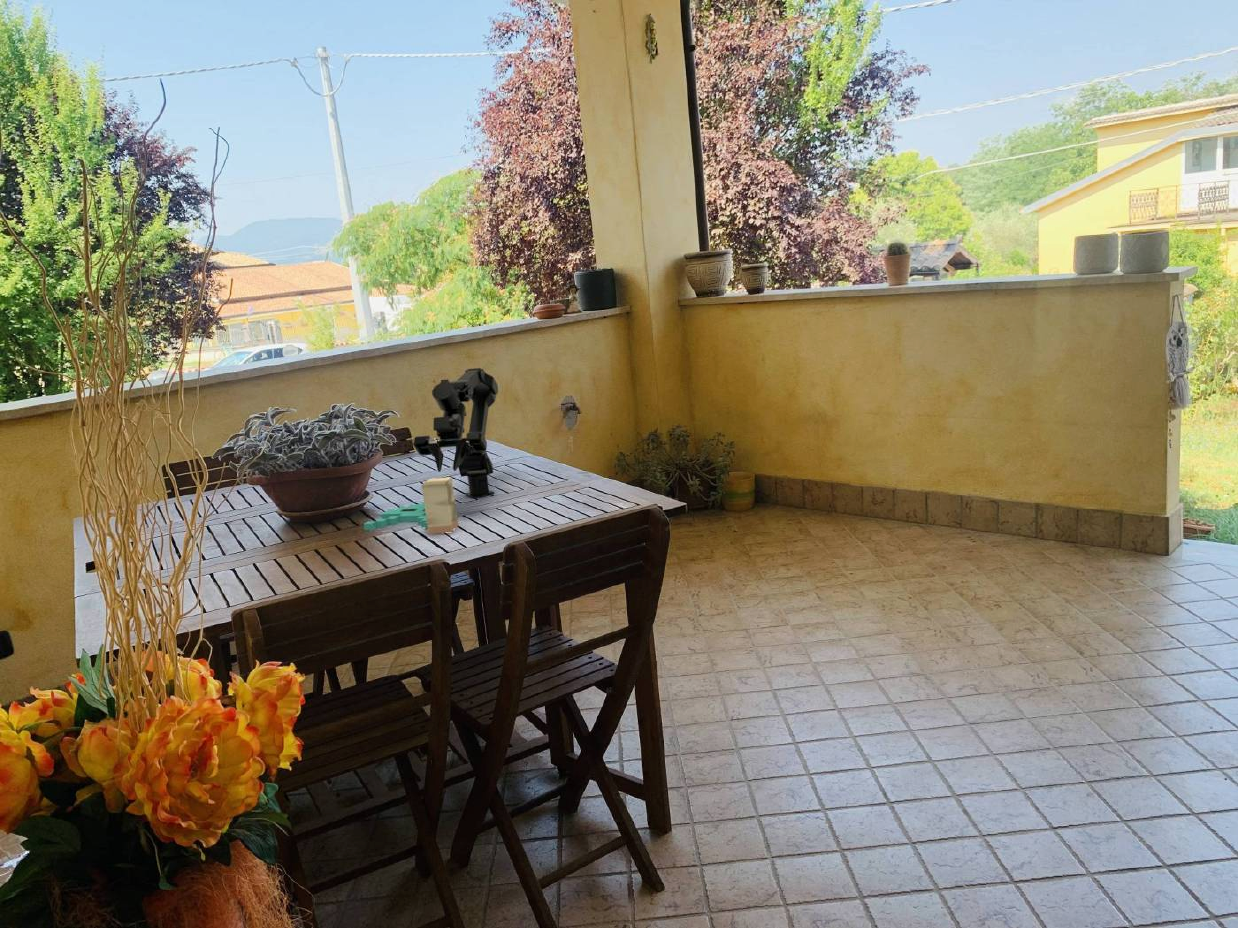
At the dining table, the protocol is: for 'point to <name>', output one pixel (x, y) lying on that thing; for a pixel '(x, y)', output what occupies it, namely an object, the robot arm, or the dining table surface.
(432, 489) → the maple block
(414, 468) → the dining table surface
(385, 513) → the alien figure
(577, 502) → the dining table surface
